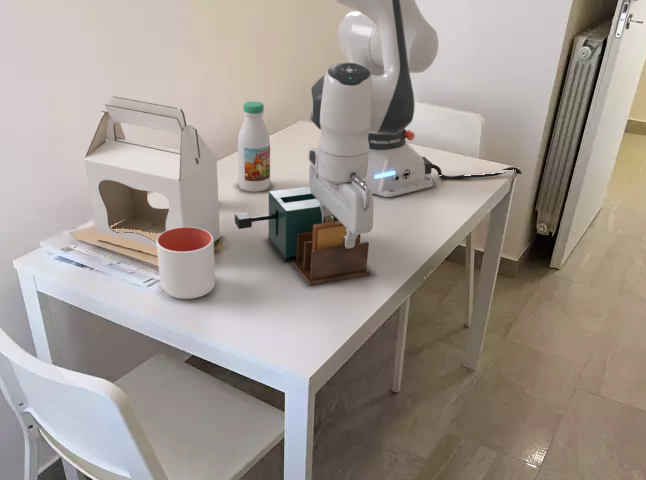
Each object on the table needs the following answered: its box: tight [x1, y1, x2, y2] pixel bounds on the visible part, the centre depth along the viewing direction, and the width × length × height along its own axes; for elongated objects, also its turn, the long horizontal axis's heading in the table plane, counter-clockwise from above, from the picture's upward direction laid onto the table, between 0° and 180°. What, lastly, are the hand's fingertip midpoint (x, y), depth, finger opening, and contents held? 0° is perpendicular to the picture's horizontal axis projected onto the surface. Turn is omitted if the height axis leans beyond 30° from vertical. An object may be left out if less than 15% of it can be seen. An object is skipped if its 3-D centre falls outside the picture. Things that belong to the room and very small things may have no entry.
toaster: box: [267, 185, 339, 263], centre depth 135 cm, size 13×11×11 cm
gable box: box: [84, 96, 221, 247], centre depth 130 cm, size 22×13×28 cm, turn 65°
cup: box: [156, 227, 216, 300], centre depth 120 cm, size 10×10×10 cm
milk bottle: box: [237, 101, 271, 192], centre depth 157 cm, size 8×8×20 cm
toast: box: [312, 221, 359, 250], centre depth 126 cm, size 9×1×10 cm, turn 112°
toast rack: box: [291, 231, 371, 286], centre depth 128 cm, size 13×9×7 cm
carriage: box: [234, 211, 278, 230], centre depth 132 cm, size 20×3×2 cm, turn 112°
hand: (337, 235), depth 124 cm, fingers open, 8 cm apart
